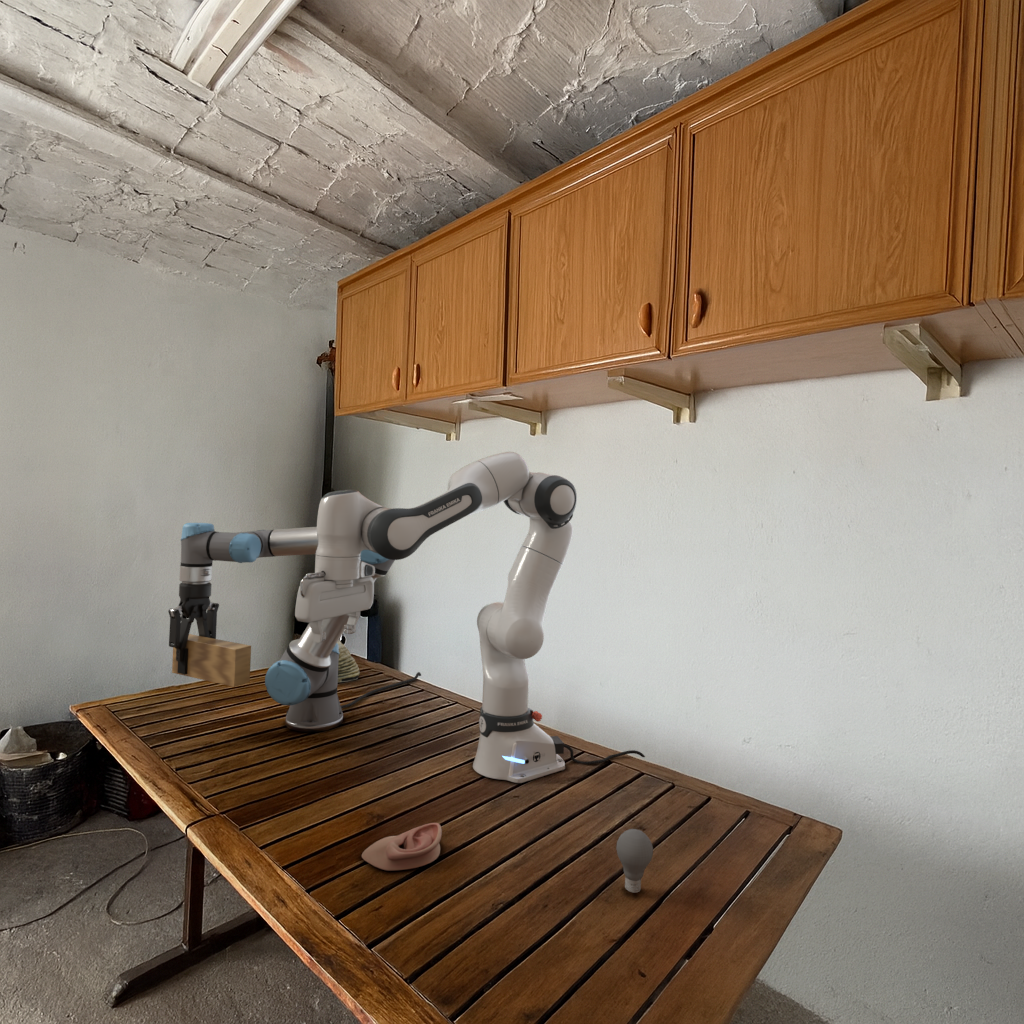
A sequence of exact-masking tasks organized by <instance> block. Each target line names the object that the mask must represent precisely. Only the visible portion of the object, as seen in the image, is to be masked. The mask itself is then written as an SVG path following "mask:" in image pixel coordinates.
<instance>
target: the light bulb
mask: <svg viewBox="0 0 1024 1024" xmlns="http://www.w3.org/2000/svg"><path fill="white" fill-rule="evenodd" d="M615 849H616V854H617V857H618V859H619V861H620V863H621V865H622V867H623V873H624V874H623V875H624V876H625V878H624V888H625V890H627V891H628V892H630V893H634V894H635V893H639V892H640V891H641V889H642V887H641V886H642V879H643V877H644V875H645V871H646V868H647V867H648V866H649V864H650V863H651V861H652V859H653V855H654V847H653V843H652V841H651V838H649V836H648V835H647V834H646V833H645V832H643V831H642V830H641V829H636V828H629V829H627V830H625V831H623V832H622V833H621V834H620V835H619V837H618V839H617V841H616V847H615Z"/></svg>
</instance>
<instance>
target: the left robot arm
mask: <svg viewBox="0 0 1024 1024" xmlns="http://www.w3.org/2000/svg"><path fill="white" fill-rule="evenodd" d="M317 547H318V537H317V526H309V527H306V526H305V527H294V528H293V527H291V528H277V529H257V530H251V531H237V532H227V531H226V532H225V531H215V526H214V524H213V523H211V522H210V523H209V522H186V523H184V524H183V525H182V529H181V537H180V565H179V581H180V583H179V584H178V585H179V586H178V597H179V603H178V605H177V606H176V607H174V608H169V609H168V615H169V635H168V647H169V648H173V647H174V648H176V661H178V671H177V673H180V674H187V669H188V649H187V648H185V647H186V644H187V640H188V636H189V634H190V631H191V628H192V624H193V622H194V621H195V620H196V621H195V622H196V627H197V632H198V636H202V637H208V638H213V639H217V626H218V625H217V624H218V623H217V622H218V611H219V608H220V603H218V602H213V601H211V600H210V597H211V596H212V585H213V584H212V583H211V581H212V579H213V563H214V562H213V561H219V562H230V563H231V562H233V563H238V564H243V563H254V562H255V561H256V560H257V559H259V558H274V557H287V556H289V557H290V556H304V555H305V556H306V555H316V550H317ZM360 561H363V562H365V563H367V564H370V565H373V566H374V567H375V574H374V576H371V577H372V578H373V580H374V583H375V582H376V581H377V579H379V578H383V577H385V576H387V574H388V572H389V571H390V569H391V567H392V566H393V564H394V563H395V561H396V560H390V559H387V558H384V557H382V556H381V555H379V554H377V553H375V552H372V551H370V550H362V551H361V559H360ZM348 619H349V616H348V614H346V615H341V616H337V617H333V618H328V619H324V620H323V625H321V629H322V632H324V633H326V636H325V641H323V642H320V643H317V642H314V641H313V632H312V630H311V627H310V625H309V623H307V626H306V628H305V630H304V631H303V632H302V634H301V636H300V637H299V638H297V639H293V640H290V642H289V644H288V645H287V647H286V648H285V650H284V652H283V654H282V655H281V656H280V658H279V660H277V661H275V662H274V663H272V664H271V665H270V667H269V668H268V669H267V671H266V673H265V677H264V686H265V688H266V692H267V694H268V695H269V696H270V698H271V699H272V700H273V701H275V702H276V703H277V704H279V705H282V706H287V707H288V706H289V708H288V710H286V712H285V726H286V728H287V729H289V730H291V731H294V732H295V731H296V732H301V733H316V732H325V731H329V730H332V729H335V728H337V727H339V726H340V725H342V723H343V722H344V713H343V709H347V708H349V707H351V706H353V705H356V704H357V703H358V702H359V701H362V700H363V699H365V698H367V697H369V696H370V695H373V694H376V693H378V692H381V691H384V690H388V689H391V688H396V687H398V686H402V685H405V684H408V683H412V682H414V681H416V680H417V679H418V678H419V677H422V673H421V672H419V671H418V672H416V674H415V676H414V677H412V678H409V679H406V680H402V681H400V682H396V683H392V684H388V685H385V686H382V687H379V688H375V689H373V690H372V689H371V690H370V691H368V692H366V693H363V694H362V695H361V696H359V697H357V698H356V699H354V700H353V701H350V702H349V703H346V704H345V703H344V704H341V702H340V699H339V695H338V662H339V645H338V643H337V642H338V640H340V639H341V637H342V635H343V634H344V633H345V632H344V630H345V628H344V626H345V625H347V622H348ZM180 674H179V675H180Z"/></svg>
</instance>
